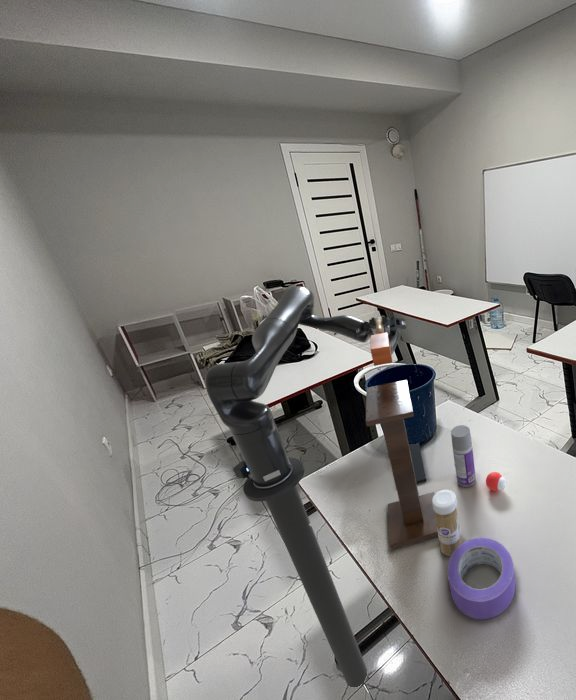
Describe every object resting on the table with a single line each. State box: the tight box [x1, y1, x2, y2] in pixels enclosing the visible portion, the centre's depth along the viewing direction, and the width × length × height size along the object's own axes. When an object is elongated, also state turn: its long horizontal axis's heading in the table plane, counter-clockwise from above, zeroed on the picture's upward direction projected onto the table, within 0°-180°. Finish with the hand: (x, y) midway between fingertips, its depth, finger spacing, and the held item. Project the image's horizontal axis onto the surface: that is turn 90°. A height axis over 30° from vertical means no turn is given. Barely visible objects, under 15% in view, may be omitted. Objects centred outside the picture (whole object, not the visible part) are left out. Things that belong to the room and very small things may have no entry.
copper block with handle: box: [369, 316, 393, 367], centre depth 80 cm, size 23×4×4 cm, turn 14°
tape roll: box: [447, 536, 516, 620], centre depth 64 cm, size 12×12×5 cm
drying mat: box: [409, 442, 427, 484], centre depth 96 cm, size 16×7×1 cm, turn 14°
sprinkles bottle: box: [432, 489, 463, 557], centre depth 70 cm, size 5×5×13 cm
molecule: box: [485, 471, 507, 492], centre depth 84 cm, size 5×5×4 cm
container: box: [450, 424, 477, 488], centre depth 85 cm, size 5×5×15 cm
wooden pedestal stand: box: [365, 379, 439, 551], centre depth 72 cm, size 12×11×32 cm
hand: (378, 320), depth 85 cm, fingers closed on copper block with handle, 2 cm apart
